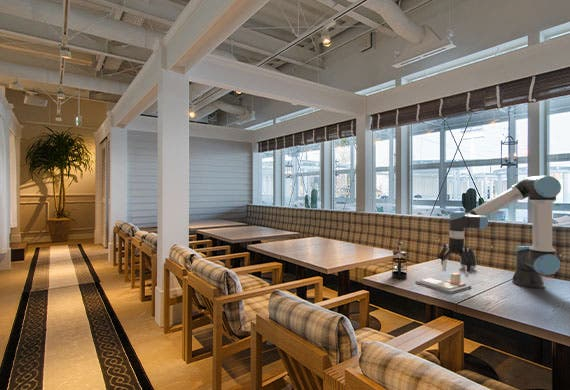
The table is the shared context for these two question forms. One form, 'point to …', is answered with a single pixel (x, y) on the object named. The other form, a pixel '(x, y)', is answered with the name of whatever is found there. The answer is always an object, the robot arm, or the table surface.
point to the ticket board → (442, 285)
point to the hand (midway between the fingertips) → (455, 274)
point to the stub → (455, 279)
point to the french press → (399, 265)
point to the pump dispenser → (466, 257)
